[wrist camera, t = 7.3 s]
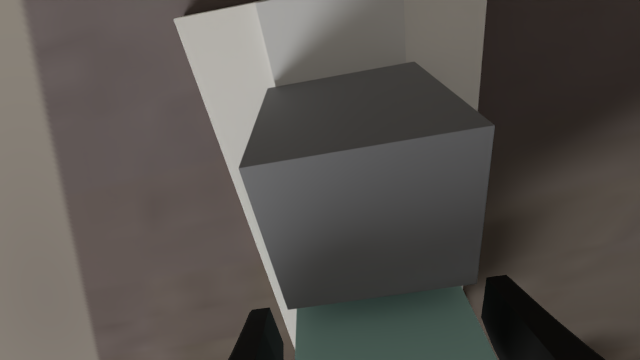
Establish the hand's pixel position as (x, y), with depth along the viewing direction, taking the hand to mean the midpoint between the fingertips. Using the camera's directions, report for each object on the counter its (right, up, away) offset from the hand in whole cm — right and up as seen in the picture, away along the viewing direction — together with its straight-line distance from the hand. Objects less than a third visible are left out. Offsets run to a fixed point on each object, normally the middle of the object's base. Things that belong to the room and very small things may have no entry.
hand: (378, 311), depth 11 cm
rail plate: (0, +2, +4) cm, 4 cm away
